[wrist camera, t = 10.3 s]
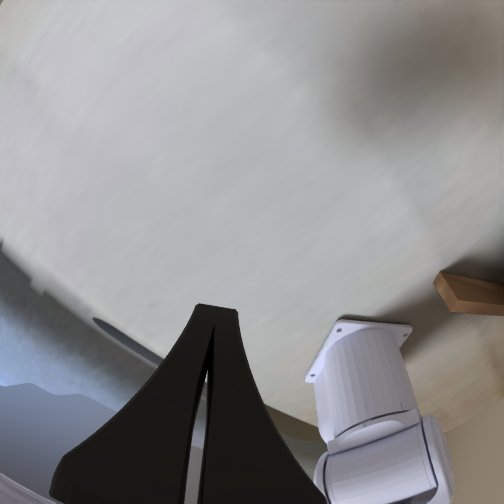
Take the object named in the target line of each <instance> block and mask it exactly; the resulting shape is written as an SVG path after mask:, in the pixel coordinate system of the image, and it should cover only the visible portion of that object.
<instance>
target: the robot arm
mask: <svg viewBox="0 0 504 504" xmlns="http://www.w3.org/2000/svg"><path fill="white" fill-rule="evenodd" d="M339 328H340V329H339ZM412 330H413V329H412V326H411V325H401V324H388V323H376V322H365V321H354V320H344V319H341V320H338V321H337V322H336V323H335V325H334V327H333V329H332V331H331V332H330V334H329V336H328V338H327V340H326V342H325V343H324V345H323V347H322V349H321V351H320V352H319V354H318V356H317V358H316V359H315V361H314V363H313V365H312V366H311V368H310V370H309V371H308V373H307V375H306V377H305V382H308V383H314V389H315V398H316V408H317V417H318V427H319V431H320V435H321V436H322V438H323V440H324V441H325V442H326V443H327V446H328V452H325V453H324V454H323V455H322V456H321V457H320V459H319V461H318V464H317V466H316V468H315V472H314V483H313V481H312V480H311V479H310V478H309V476H308V475H307V474H306V473H305V471H304V470H303V469H302V467H301V466H300V464H299V463H298V462H297V460H296V459H295V458H294V456H293V454H292V453H291V451H290V450H289V448H288V447H287V445H286V443H285V442H284V440H283V439H282V437H281V435H280V434H279V432H278V430H277V428H276V427H275V425H274V423H273V421H272V419H271V417H270V415H269V413H268V411H267V409H266V407H265V405H264V403H263V400H262V398H261V396H260V393H259V391H258V389H257V386H256V383H255V381H254V378H253V375H252V373H251V370H250V367H249V363H248V360H247V357H246V353H245V350H244V346H243V342H242V337H241V333H240V327H239V319H238V312H237V311H236V309H230V308H224V307H218V306H212V305H206V304H200V303H199V304H197V305H196V306H195V309H194V311H193V313H192V315H191V317H190V319H189V321H188V323H187V325H186V327H185V328H184V330H183V332H182V334H181V335H180V337H179V338H178V340H177V341H176V343H175V344H174V346H173V348H172V349H171V351H170V352H169V353H168V355H167V356H166V358H165V359H164V360H163V362H162V363H161V364H160V366H159V367H158V368H157V370H156V371H155V372H154V373H153V375H152V376H151V377H150V378H149V380H148V381H147V382H146V383H145V384H144V385H143V387H142V388H141V389H140V390H139V391H138V392H137V393H136V394H135V395H134V396H133V398H132V399H131V400H130V401H129V402H128V403H127V404H126V405H125V406H124V407H123V408H122V409H121V410H120V411H119V412H118V413H117V414H116V415H115V416H113V417H112V418H111V419H110V420H109V421H108V422H107V423H105V424H104V425H103V426H102V427H101V428H100V429H98V430H97V431H96V432H95V433H94V434H92V435H91V436H90V437H89V438H87V439H86V440H85V441H83V442H82V443H81V444H80V445H78V446H77V447H75V448H74V449H72V450H71V451H70V452H68V453H67V454H65V455H64V456H63V457H62V459H61V461H60V463H59V464H58V466H57V468H56V470H55V473H54V475H53V479H52V483H51V487H50V491H49V494H50V496H51V497H52V498H54V499H56V500H58V501H60V502H62V503H64V504H184V500H185V491H186V481H187V474H188V465H189V457H190V450H191V442H192V435H193V429H194V424H195V419H196V415H197V411H198V407H199V403H200V399H201V395H202V391H203V387H204V383H205V378H206V374H207V370H208V375H207V401H206V429H205V440H204V448H203V457H202V465H201V474H200V483H199V491H198V500H197V504H451V503H452V501H453V495H454V494H455V482H454V477H453V468H452V463H451V458H450V454H449V450H448V446H447V443H446V439H445V436H444V433H443V430H442V427H441V424H440V422H439V419H438V418H437V417H435V416H432V415H431V414H427V415H425V416H422V415H421V414H420V411H419V408H418V404H417V401H416V398H415V394H414V391H413V388H412V385H411V382H410V379H409V376H408V373H407V370H406V367H405V364H404V361H403V358H402V355H401V352H400V350H399V348H400V347H401V346H402V344H403V343H404V342H405V340H406V339H407V337H408V336H409V335H410V333H411V332H412ZM0 504H56V503H54V502H52V501H50V500H48V499H46V498H44V497H41V496H40V495H38V494H36V493H34V492H32V491H30V490H28V489H27V488H25V487H23V486H21V485H19V484H18V483H16V482H14V481H13V480H11V479H9V478H8V477H6V476H5V475H3V474H2V473H0Z"/></svg>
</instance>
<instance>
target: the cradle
mask: <svg viewBox="0 0 504 504" xmlns="http://www.w3.org/2000/svg"><path fill="white" fill-rule="evenodd" d="M433 284H434V285H435V287H436V289H437V290H438V292H439V294H440V295H441V297H442V299H443V300H444V302H445V304H446V306H447V307H448V309H449V311H450V312H457V313H469V314H482V315H496V316H504V284H499V283H494V282H489V281H484V280H479V279H474V278H469V277H464V276H458V275H453V274H448V273H443V272H439V274H438V276H437V277H436V279H435V281H434V282H433Z"/></svg>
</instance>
